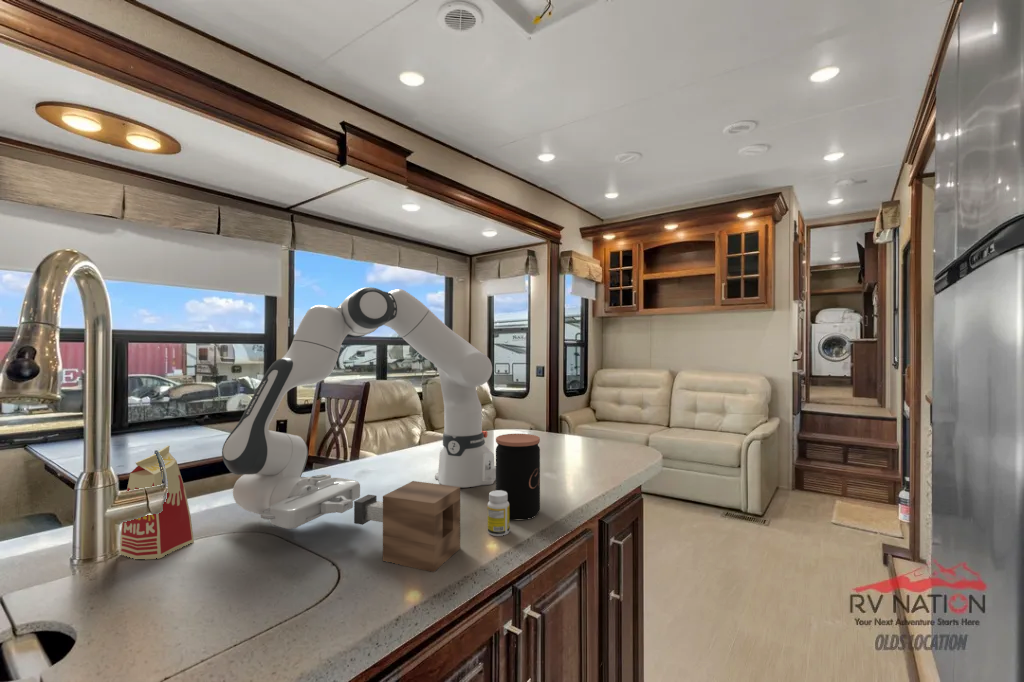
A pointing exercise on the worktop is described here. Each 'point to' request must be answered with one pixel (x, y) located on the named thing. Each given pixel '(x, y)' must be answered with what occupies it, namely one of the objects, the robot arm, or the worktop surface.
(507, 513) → the supplement bottle
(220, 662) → the worktop surface
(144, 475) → the milk carton
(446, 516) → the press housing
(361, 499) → the plunger
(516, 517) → the coffee jar
